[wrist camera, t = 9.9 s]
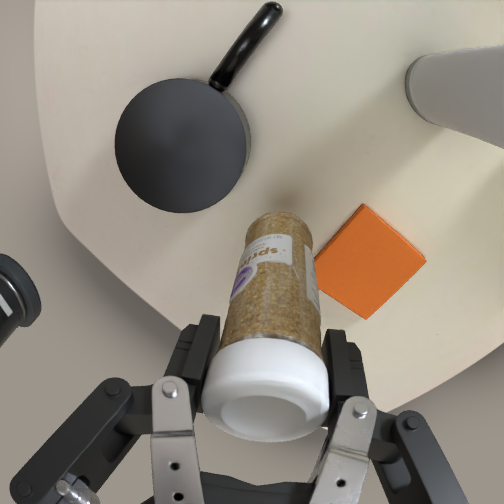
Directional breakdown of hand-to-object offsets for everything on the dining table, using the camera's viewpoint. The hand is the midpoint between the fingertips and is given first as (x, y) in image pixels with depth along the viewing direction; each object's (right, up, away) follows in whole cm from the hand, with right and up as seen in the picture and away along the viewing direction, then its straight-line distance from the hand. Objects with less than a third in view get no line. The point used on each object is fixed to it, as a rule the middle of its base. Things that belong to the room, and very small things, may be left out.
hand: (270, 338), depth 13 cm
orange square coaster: (+10, +2, +16) cm, 19 cm away
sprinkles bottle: (+1, +5, +8) cm, 10 cm away
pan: (-4, +16, +11) cm, 20 cm away
